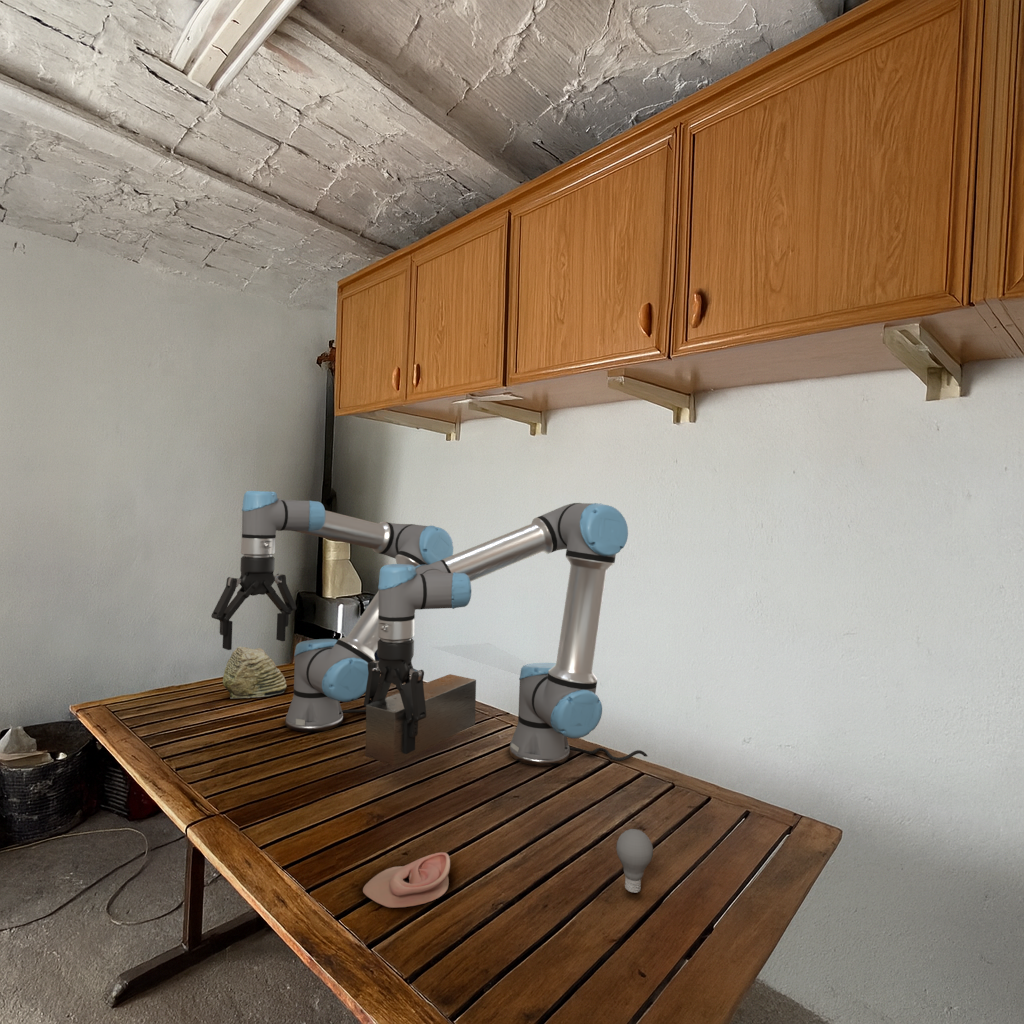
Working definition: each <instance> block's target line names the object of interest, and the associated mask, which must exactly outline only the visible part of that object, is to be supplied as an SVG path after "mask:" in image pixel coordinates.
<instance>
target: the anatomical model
mask: <svg viewBox="0 0 1024 1024" xmlns="http://www.w3.org/2000/svg"><path fill="white" fill-rule="evenodd" d="M450 870H451V858H450V855H449V854H448V853H447V852H445V851H444V852H442V851H441V852H440V851H439V852H435V853H432V854H429V855H425V856H423V857H420V858H418V859H416V860H414V861H412V862H410V863H407V864H405V865H402V866H401V865H400V866H399V865H398V866H392V867H388V868H386V869H384V870H382V871H380V872H379V873H377V874H376V875H374V876H373V877H372V878H371V879H369V881H367V882H366V883H365V885H364V886H363V888H362V892H363V894H364V895H365V896H366V897H367V898H368V899H370V900H372V901H373V902H375V903H377V904H379V905H381V906H383V907H386V908H390V909H391V908H392V909H393V908H395V909H396V908H407V907H415V906H420V905H424V904H427V903H430V902H432V901H435V900H436V899H439V898H440V897H442V896H443V895H444V894H446V892H447V891H448V889H449V884H450V883H449V880H450V879H449V873H450Z"/></svg>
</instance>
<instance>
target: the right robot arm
mask: <svg viewBox="0 0 1024 1024" xmlns="http://www.w3.org/2000/svg"><path fill="white" fill-rule="evenodd" d="M628 537H629V527H628V522H627V520H626V518H625V517H624V515H623V514H622V512H621V511H620V510H619V509H617V508H616V507H614V506H612V505H608V504H604V503H597V502H594V503H591V502H589V503H586V502H583V503H582V502H572V503H569V504H565V505H563V506H560V507H558V508H555V509H553V510H550V511H548V512H546V513H543V514H541V515H538V516H537V517H535V518H533V519H532V521H531V523H530V524H527V525H525V526H523V527H520V528H518V529H515V530H513V531H510V532H507V533H505V534H503V535H499V536H498V537H494V538H492V539H490V540H488V541H485V542H483V543H479V544H477V545H475V546H472V547H470V548H467V549H465V550H462V551H460V552H457V553H455V554H453V555H452V556H450V557H447V558H445V559H442V560H440V561H437V562H434V563H432V564H429V565H426V564H425V565H418V566H416V567H414V566H413V565H409V564H397V563H390V564H384V565H383V566H382V567H380V569H379V576H378V577H379V578H378V586H377V588H378V591H379V605H378V637H379V638H380V639H379V641H378V646H377V650H376V654H377V658H378V659H375V661H372V662H369V663H368V679H367V686H366V692H365V693H364V699H363V706H364V708H366V705H368V704H370V703H373V702H376V701H380V700H382V699H385V698H387V696H388V692H389V690H390V687H391V685H395V687H396V690H397V691H398V693H400V695H401V699H402V702H403V706H404V709H405V713H406V717H407V721H405V722H404V754H408V753H410V752H412V751H414V750H415V736H417V734H418V721H419V720H421V719H424V718H426V706H425V697H424V688H423V684H424V677H425V671H424V669H416V668H414V666H413V663H412V660H413V657H414V654H415V640H414V639H413V638H414V637H415V618H416V617H415V616H416V614H415V613H416V610H437V609H438V610H439V609H441V610H442V609H452V610H455V609H458V608H465V607H467V606H468V605H469V604H470V602H471V598H472V583H471V582H474V581H476V580H478V579H481V578H483V577H486V576H488V575H492V574H493V573H495V572H498V571H500V570H503V569H505V568H507V567H510V566H512V565H514V564H517V563H520V562H521V561H524V560H527V559H529V558H532V557H534V556H536V555H539V554H541V553H544V554H546V555H549V554H551V553H554V552H557V551H562V550H565V558H566V560H567V561H568V562H569V564H570V566H569V567H570V568H569V573H568V581H567V588H566V594H565V600H564V601H565V602H564V607H563V614H562V620H561V627H560V634H559V640H558V641H559V642H558V649H557V653H556V654H557V656H556V661H555V662H531V663H526V664H524V665H523V666H521V668H520V674H519V679H518V680H519V685H518V686H519V689H518V713H517V714H518V716H517V723H516V727H515V729H514V732H513V734H512V735H513V736H512V737H511V740H510V744H509V755H510V756H511V758H512V759H514V760H516V761H518V762H519V763H523V764H526V765H530V766H536V767H551V766H558V765H560V764H563V763H566V762H567V761H568V760H569V759H570V751H573V752H578V753H582V754H586V755H596V754H597V753H598V752H601V753H605V754H606V756H607V757H608V758H609V759H610V760H611V761H614V762H624V761H627V760H629V759H631V758H633V757H634V756H636V755H638V754H639V755H642V756H643V757H648V754H647V753H646V752H645V751H644V750H640V749H637V750H634V751H632V752H631V753H629V754H627V755H625V756H619V757H618V756H617V757H616V756H613V755H612V754H611V753H610V751H609V750H608V749H606V748H604V747H597V748H595V749H594V750H588V749H583V748H579V747H573V746H570V743H569V741H568V739H581V738H584V737H586V736H588V735H590V733H591V732H592V731H594V730H595V729H596V728H597V727H598V725H599V724H600V721H601V719H602V715H603V704H602V701H601V699H600V698H599V696H598V694H596V692H597V686H598V678H597V676H596V675H595V673H594V672H593V668H594V660H595V655H596V647H597V640H598V634H599V626H600V620H601V613H602V607H603V606H602V605H603V599H604V591H605V586H606V578H607V571H608V570H609V569H610V568H611V567H613V566H614V565H615V562H616V556H617V554H619V553H620V552H621V551H622V549H624V548H625V546H626V544H627V541H628ZM412 714H413V715H412Z"/></svg>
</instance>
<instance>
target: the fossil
mask: <svg viewBox="0 0 1024 1024" xmlns="http://www.w3.org/2000/svg"><path fill="white" fill-rule="evenodd" d="M222 676H223V677H222V685H223V687H224V688H225V690H226V691H228V693H229V698H230V699H250V698H264V697H271V696H275V695H281V694H284V693H285V691H286V689H287V687H288V686H287V680H286V678H285V676H284V674H283V673H282V672H281V669H279V668H278V667H277V665H276V663H275V662H274V660H273V659H272V658H271V657H270V656H269V655H268V654H267V653H266V652H265V650H264V649H263V648H260V647H258V648H251V647H247V646H246V647H245V646H238V647H237V648H236V649H235V650H233V651H232V653H231V656H230V657H229V659H228V660H227V663H226V666H225V668H224V671H223V675H222Z"/></svg>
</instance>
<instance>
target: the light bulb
mask: <svg viewBox="0 0 1024 1024" xmlns="http://www.w3.org/2000/svg"><path fill="white" fill-rule="evenodd" d="M615 849H616V854H617V857H618V859H619V861H620V863H621V865H622V867H623V873H624V874H623V875H624V876H625V878H624V888H625V890H627V891H628V892H630V893H634V894H635V893H639V892H640V891H641V889H642V887H641V886H642V879H643V877H644V875H645V871H646V868H647V867H648V866H649V864H650V863H651V861H652V859H653V855H654V847H653V843H652V841H651V838H649V836H648V835H647V834H646V833H645V832H643V831H642V830H641V829H636V828H629V829H627V830H625V831H623V832H622V833H621V834H620V835H619V837H618V839H617V841H616V847H615Z"/></svg>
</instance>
